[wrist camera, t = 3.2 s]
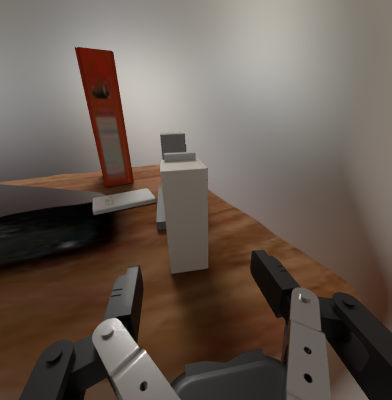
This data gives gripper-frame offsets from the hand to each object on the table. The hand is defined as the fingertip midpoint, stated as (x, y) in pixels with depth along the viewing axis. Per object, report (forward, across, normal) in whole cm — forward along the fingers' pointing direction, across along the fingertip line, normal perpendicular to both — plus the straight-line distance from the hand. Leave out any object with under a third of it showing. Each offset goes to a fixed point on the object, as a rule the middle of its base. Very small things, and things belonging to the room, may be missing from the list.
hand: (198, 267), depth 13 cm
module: (+10, 0, +6) cm, 12 cm away
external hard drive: (+31, +12, +7) cm, 34 cm away
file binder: (+53, +18, +7) cm, 56 cm away
